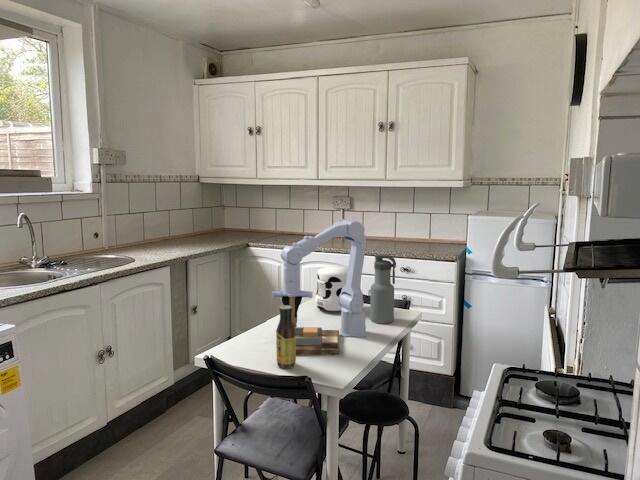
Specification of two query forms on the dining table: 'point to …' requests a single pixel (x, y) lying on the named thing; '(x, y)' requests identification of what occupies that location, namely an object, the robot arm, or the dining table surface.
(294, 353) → the sauce bottle
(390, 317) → the water bottle
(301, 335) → the board
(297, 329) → the gray rectangular frame
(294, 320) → the handle
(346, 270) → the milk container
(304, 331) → the block
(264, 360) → the dining table surface
